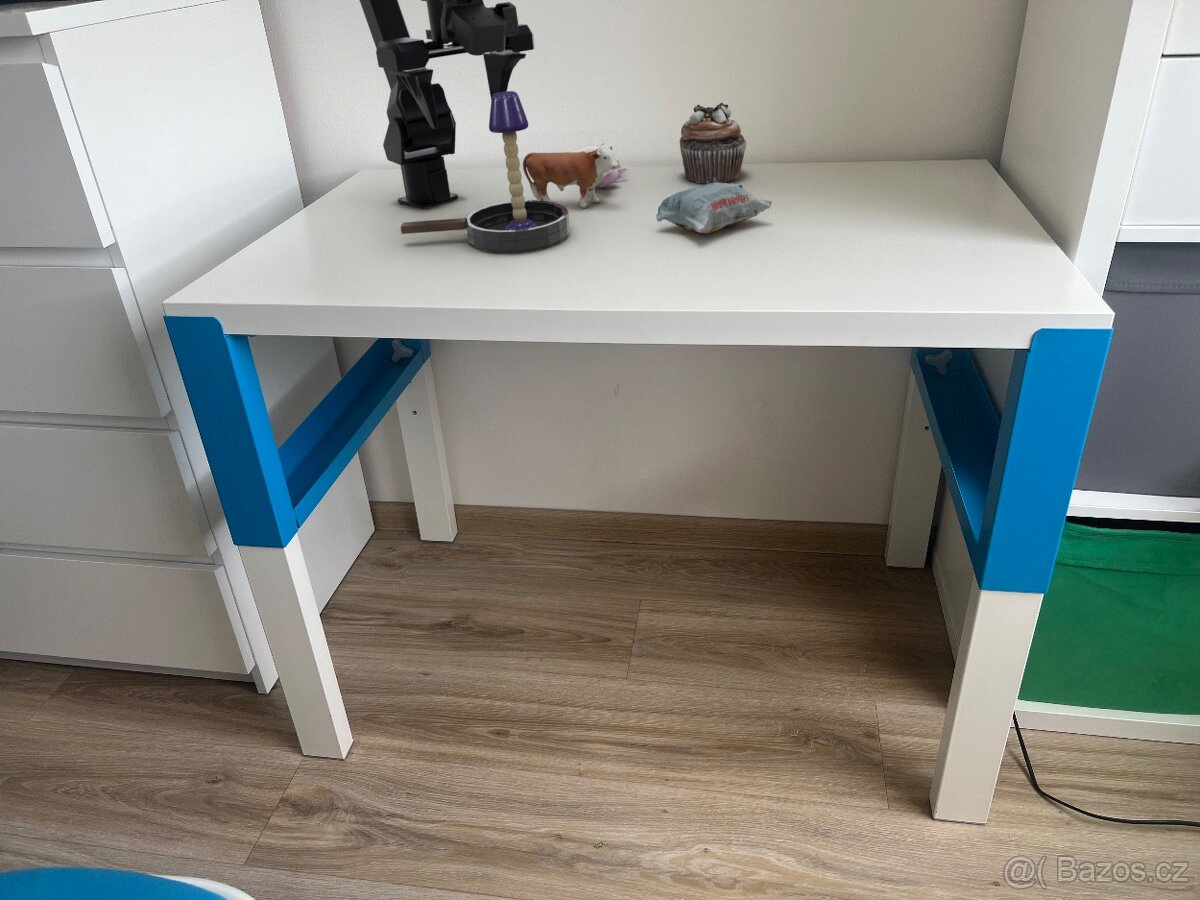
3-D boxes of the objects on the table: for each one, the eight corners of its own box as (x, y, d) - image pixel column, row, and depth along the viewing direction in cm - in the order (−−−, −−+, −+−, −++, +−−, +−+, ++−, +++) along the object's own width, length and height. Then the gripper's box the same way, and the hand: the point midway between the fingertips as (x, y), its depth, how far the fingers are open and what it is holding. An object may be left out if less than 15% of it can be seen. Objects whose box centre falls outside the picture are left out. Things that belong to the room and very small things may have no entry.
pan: (447, 242, 110) (443, 220, 109) (521, 215, 118) (518, 194, 116) (516, 261, 102) (513, 238, 101) (590, 232, 110) (589, 210, 109)
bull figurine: (618, 211, 117) (615, 148, 113) (523, 209, 120) (517, 148, 116) (625, 201, 121) (623, 140, 116) (533, 200, 124) (527, 140, 119)
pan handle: (467, 225, 110) (465, 217, 109) (465, 229, 108) (464, 221, 108) (403, 230, 110) (402, 222, 109) (401, 234, 108) (400, 226, 108)
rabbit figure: (591, 181, 135) (571, 193, 122) (590, 140, 133) (569, 148, 119) (631, 181, 134) (615, 192, 120) (630, 140, 132) (614, 147, 118)
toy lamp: (494, 237, 109) (476, 95, 100) (515, 226, 112) (500, 88, 104) (526, 241, 107) (510, 97, 98) (547, 230, 110) (534, 89, 101)
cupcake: (683, 187, 125) (682, 114, 119) (677, 170, 133) (676, 100, 128) (750, 183, 124) (752, 109, 119) (740, 166, 133) (742, 96, 127)
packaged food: (770, 223, 109) (772, 183, 106) (699, 246, 103) (698, 205, 101) (722, 210, 115) (723, 172, 112) (652, 231, 109) (651, 191, 107)
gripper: (407, -11, 90) (431, 145, 99) (554, -27, 100) (565, 116, 108) (362, -13, 98) (388, 131, 106) (502, -28, 107) (516, 106, 116)
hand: (467, 121), depth 109 cm, fingers open, 9 cm apart
